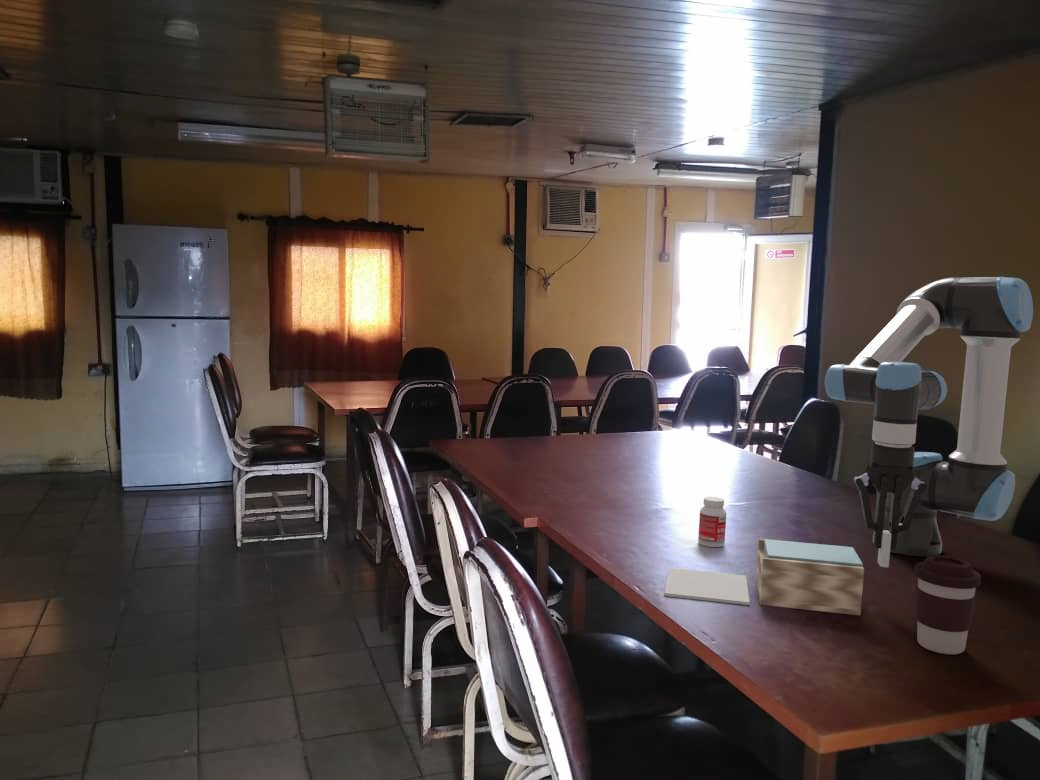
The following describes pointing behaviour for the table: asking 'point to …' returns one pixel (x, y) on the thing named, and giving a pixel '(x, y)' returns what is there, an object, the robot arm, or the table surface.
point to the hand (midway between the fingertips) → (883, 564)
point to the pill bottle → (712, 523)
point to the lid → (811, 552)
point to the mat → (707, 586)
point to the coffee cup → (945, 603)
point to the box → (809, 584)
